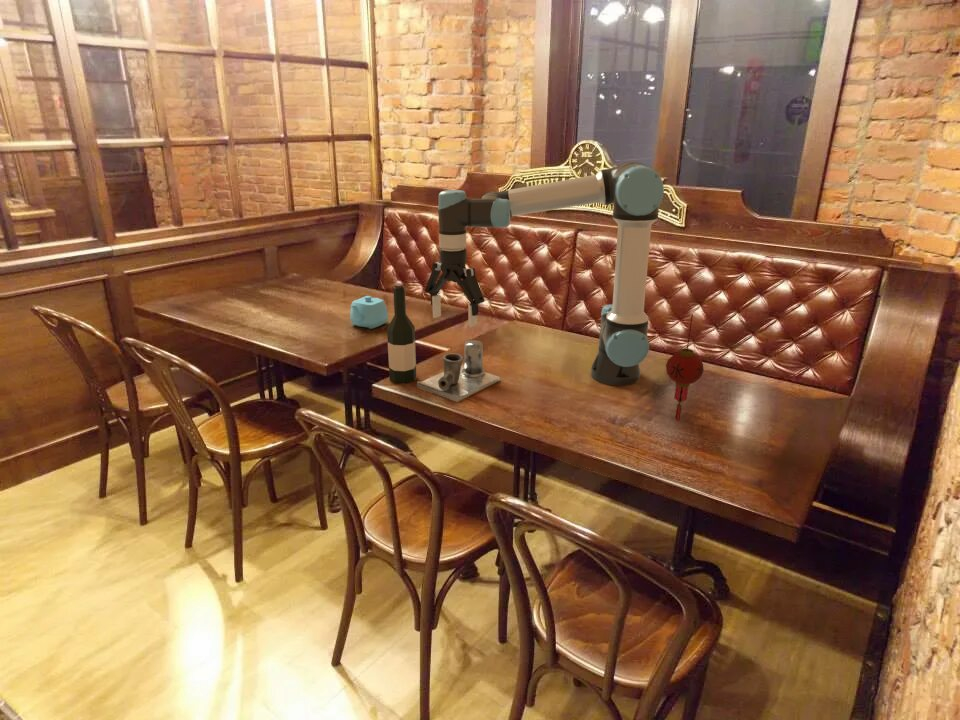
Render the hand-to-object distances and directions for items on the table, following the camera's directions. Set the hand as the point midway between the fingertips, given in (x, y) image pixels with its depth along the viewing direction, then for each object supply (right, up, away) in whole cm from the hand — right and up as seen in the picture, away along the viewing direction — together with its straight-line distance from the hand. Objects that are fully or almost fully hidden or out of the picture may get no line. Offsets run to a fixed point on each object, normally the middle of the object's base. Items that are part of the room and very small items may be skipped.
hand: (454, 321), depth 179 cm
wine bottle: (-17, -17, +13) cm, 27 cm away
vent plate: (+1, -18, +10) cm, 21 cm away
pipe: (-2, -19, +5) cm, 20 cm away
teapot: (-36, +2, +60) cm, 70 cm away
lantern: (+61, -28, -11) cm, 68 cm away
